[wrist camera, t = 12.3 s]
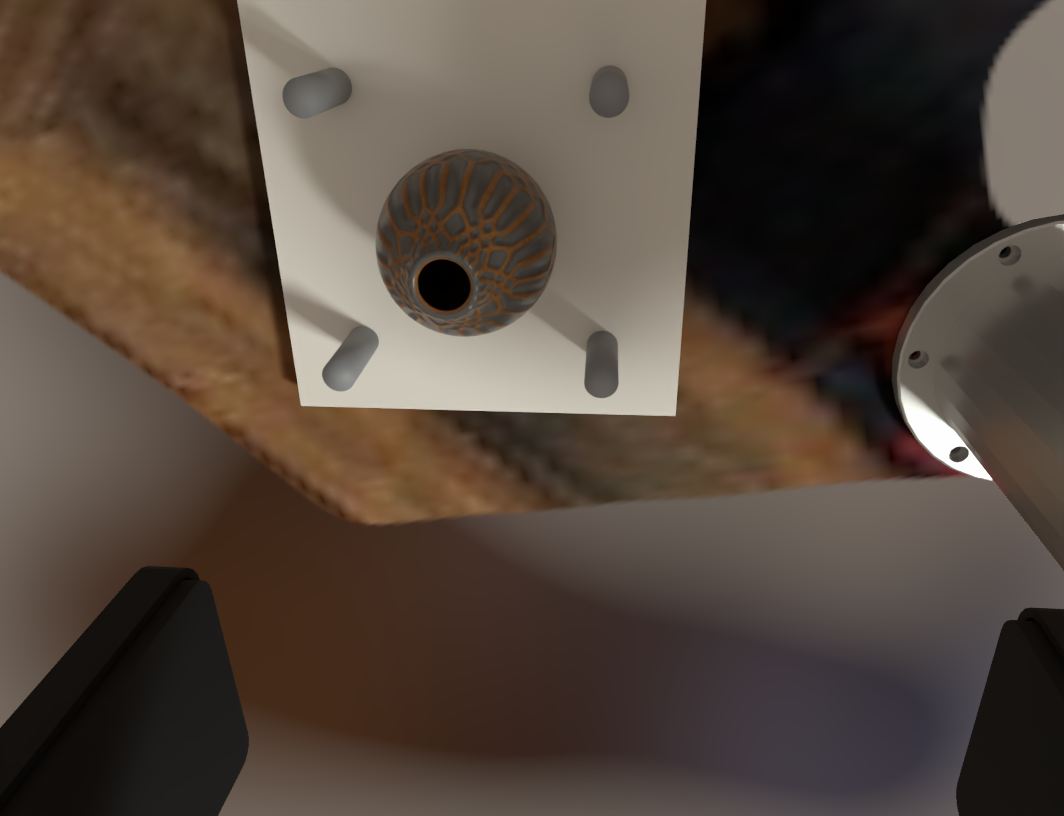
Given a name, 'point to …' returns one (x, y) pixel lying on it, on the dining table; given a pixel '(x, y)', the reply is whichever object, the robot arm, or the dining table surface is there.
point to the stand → (507, 130)
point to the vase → (466, 242)
